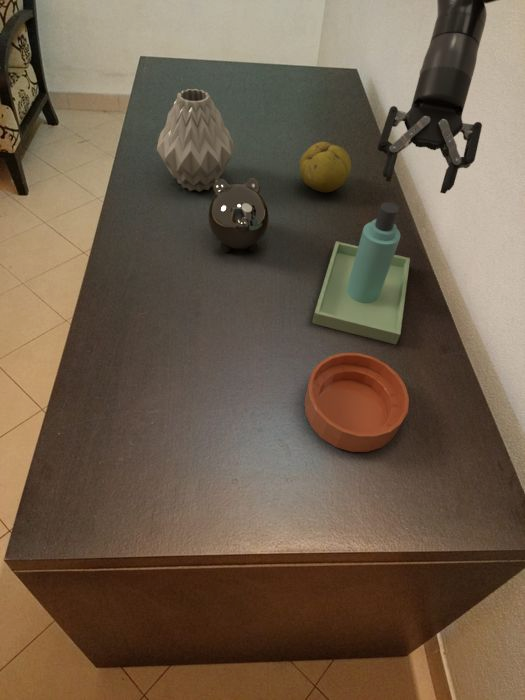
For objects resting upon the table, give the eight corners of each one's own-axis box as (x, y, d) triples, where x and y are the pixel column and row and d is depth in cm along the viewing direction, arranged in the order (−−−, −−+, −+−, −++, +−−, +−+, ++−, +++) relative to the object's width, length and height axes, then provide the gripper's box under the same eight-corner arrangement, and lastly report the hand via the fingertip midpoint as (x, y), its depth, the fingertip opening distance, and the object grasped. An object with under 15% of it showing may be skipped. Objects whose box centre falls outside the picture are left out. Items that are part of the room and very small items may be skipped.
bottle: (381, 284, 87) (410, 201, 73) (377, 306, 83) (407, 222, 69) (349, 277, 87) (373, 193, 74) (344, 298, 84) (367, 214, 70)
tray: (406, 268, 91) (410, 258, 89) (395, 344, 78) (400, 334, 76) (333, 251, 93) (336, 241, 91) (312, 323, 80) (314, 312, 78)
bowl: (402, 386, 73) (412, 366, 69) (393, 466, 64) (404, 448, 60) (314, 363, 75) (319, 342, 71) (294, 437, 66) (298, 419, 62)
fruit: (343, 176, 111) (352, 135, 103) (347, 205, 103) (357, 162, 96) (296, 173, 110) (302, 131, 103) (297, 201, 103) (303, 158, 95)
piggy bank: (259, 217, 98) (263, 166, 89) (271, 264, 89) (276, 212, 80) (206, 219, 97) (204, 167, 88) (212, 267, 87) (211, 215, 78)
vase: (177, 157, 111) (170, 72, 97) (242, 171, 109) (246, 87, 95) (148, 193, 101) (136, 104, 87) (219, 209, 99) (219, 121, 85)
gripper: (401, 56, 67) (371, 169, 69) (502, 73, 66) (470, 189, 67) (394, 82, 75) (368, 183, 76) (485, 98, 73) (456, 202, 75)
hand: (415, 186), depth 72 cm, fingers open, 8 cm apart
